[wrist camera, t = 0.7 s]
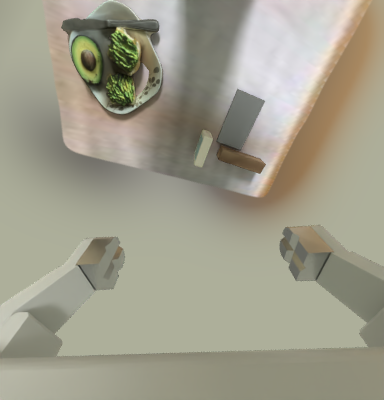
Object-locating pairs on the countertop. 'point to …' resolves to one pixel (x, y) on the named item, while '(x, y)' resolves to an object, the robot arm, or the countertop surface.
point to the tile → (202, 148)
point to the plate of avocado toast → (114, 55)
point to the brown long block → (240, 159)
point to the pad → (240, 119)
